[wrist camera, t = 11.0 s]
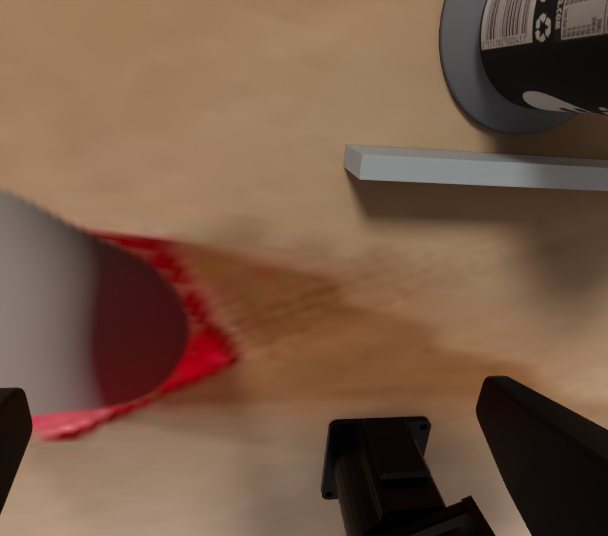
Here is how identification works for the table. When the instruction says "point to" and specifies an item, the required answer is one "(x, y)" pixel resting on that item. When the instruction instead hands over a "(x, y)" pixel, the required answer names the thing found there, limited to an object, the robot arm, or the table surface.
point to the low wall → (475, 168)
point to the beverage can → (547, 53)
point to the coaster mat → (482, 75)
